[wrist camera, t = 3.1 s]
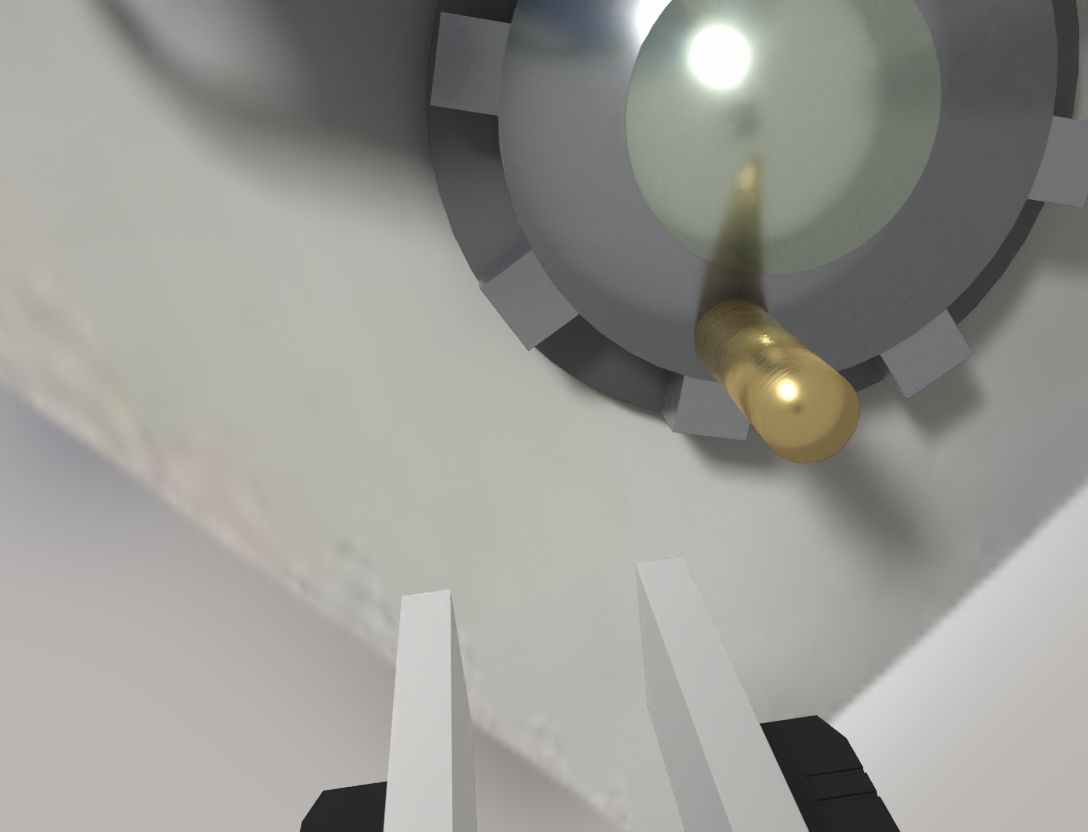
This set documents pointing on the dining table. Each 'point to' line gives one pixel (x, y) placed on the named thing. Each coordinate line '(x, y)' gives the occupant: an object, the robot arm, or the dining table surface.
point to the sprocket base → (579, 347)
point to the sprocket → (764, 186)
